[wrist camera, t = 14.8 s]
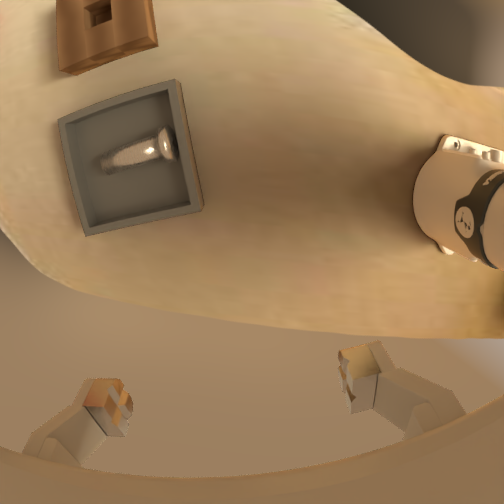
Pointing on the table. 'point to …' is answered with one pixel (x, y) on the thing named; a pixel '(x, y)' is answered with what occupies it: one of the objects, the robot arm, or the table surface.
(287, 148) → the table surface
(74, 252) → the table surface
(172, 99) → the tray
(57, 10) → the block
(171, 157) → the pin
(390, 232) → the table surface
